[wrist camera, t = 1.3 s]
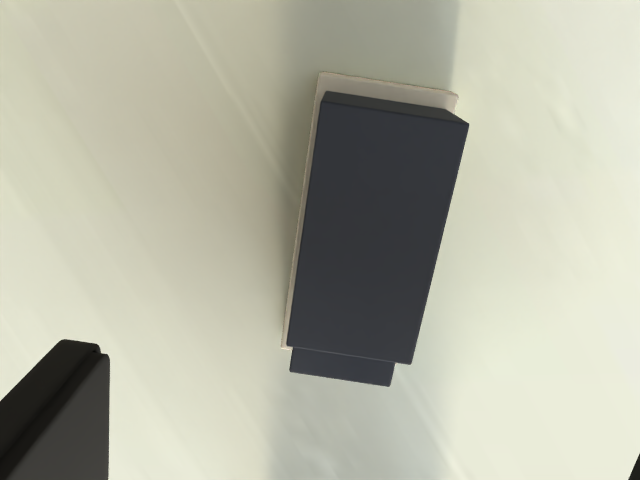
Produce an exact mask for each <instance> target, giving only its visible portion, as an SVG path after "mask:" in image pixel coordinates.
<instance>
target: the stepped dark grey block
mask: <svg viewBox="0 0 640 480" xmlns="http://www.w3.org/2000/svg"><path fill="white" fill-rule="evenodd" d="M458 98H459V97H458V95H457V94H455V93H453V92H451V91H444V90H438V89H431V88H425V87H418V86H412V85H406V84H399V83H393V82H386V81H380V80H373V79H367V78H360V77H354V76H348V75H341V74H335V73H328V72H320V73H319V75H318V80H317V87H316V94H315V102H314V109H313V116H312V123H311V131H310V138H309V145H308V152H307V160H306V167H305V174H304V181H303V189H302V196H301V203H300V210H299V218H298V225H297V232H296V239H295V247H294V254H293V261H292V268H291V276H290V283H289V290H288V297H287V305H286V312H285V319H284V326H283V334H282V341H281V348H282V349H287V350H292V356H291V362H290V369H289V370H290V372H294V373H301V374H307V375H314V376H320V377H327V378H334V379H340V380H347V381H354V382H360V383H367V384H373V385H380V386H387V387H389V386H390V384H391V380H392V375H393V371H394V367H395V366H396V364H397V363H401V364H408V365H411V363H412V359H413V355H414V351H415V347H416V343H417V339H418V334H419V330H420V326H421V322H422V318H423V314H424V310H425V306H426V302H427V297H428V293H429V289H430V285H431V281H432V277H433V273H434V269H435V264H436V260H437V256H438V252H439V248H440V244H441V240H442V236H443V232H444V227H445V223H446V219H447V215H448V211H449V207H450V203H451V199H452V195H453V190H454V186H455V182H456V178H457V174H458V170H459V166H460V162H461V157H462V153H463V149H464V145H465V141H466V137H467V133H468V129H469V123H467V122H465V121H464V120H462V119H461V118H459V117H457V116H456V115H455V111H456V106H457V102H458Z"/></svg>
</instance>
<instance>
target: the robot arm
mask: <svg viewBox="0 0 640 480" xmlns="http://www.w3.org/2000/svg"><path fill="white" fill-rule="evenodd" d="M109 387H110V359H109V356H108V355H107V354H102V353H101V351H100V347H99V345H97V344H94V343H87V342H80V341H74V340H67V339H64V340H61V341H60V342H58V343H57V344H56V345H55V346H54V347H53V348H52V349H51V350H50V351H49V352H48V353H47V354H46V355H45V356H44V357H43V358H42V359H41V360H40V361H39V362H38V363H37V365H36V366H35V367H34V368H33V369H32V370H31V371H30V372H29V373H28V374H27V375H26V376H25V377H24V378H23V379H22V380H21V381H20V382H19V383H18V384H17V385H16V386H15V387H14V388H13V389H12V390H11V391H10V392H9V393H8V394H7V395H6V396H5V397H4V398H3V399H2V400H1V401H0V480H108V466H109ZM628 480H640V454H639V456H638V459H637V461H636V463H635V466H634V468H633V470H632V472H631V475H630V477H629V479H628Z"/></svg>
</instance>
